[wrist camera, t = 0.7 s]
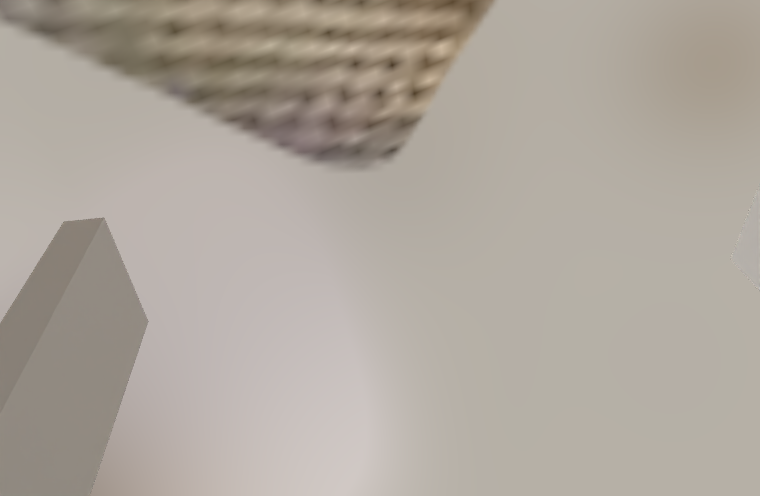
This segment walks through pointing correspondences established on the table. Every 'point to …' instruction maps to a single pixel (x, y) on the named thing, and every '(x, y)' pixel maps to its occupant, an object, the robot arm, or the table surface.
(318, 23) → the table surface
